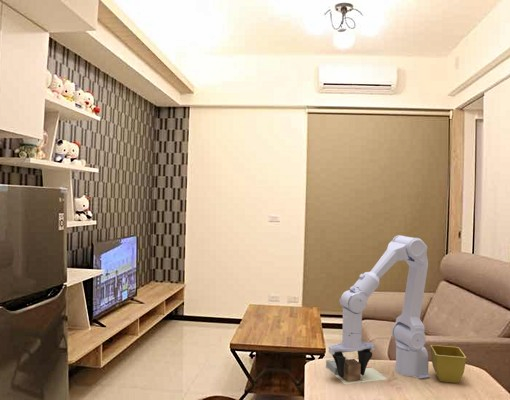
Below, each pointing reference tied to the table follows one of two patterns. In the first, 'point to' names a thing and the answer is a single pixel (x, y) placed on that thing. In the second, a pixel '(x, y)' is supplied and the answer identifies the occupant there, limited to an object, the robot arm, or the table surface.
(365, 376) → the puzzle board
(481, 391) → the table surface
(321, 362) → the table surface
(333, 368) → the sliding cover
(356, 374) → the walnut block
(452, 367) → the flower pot
